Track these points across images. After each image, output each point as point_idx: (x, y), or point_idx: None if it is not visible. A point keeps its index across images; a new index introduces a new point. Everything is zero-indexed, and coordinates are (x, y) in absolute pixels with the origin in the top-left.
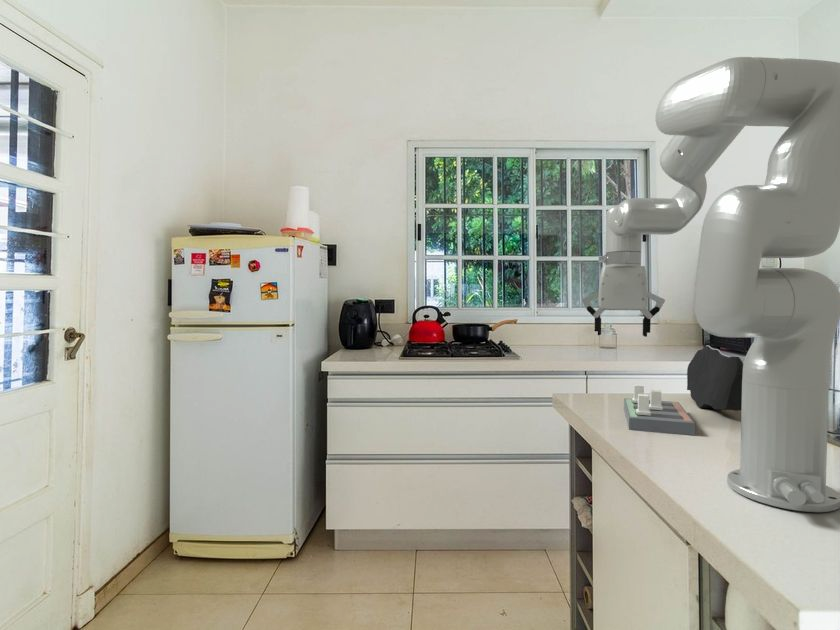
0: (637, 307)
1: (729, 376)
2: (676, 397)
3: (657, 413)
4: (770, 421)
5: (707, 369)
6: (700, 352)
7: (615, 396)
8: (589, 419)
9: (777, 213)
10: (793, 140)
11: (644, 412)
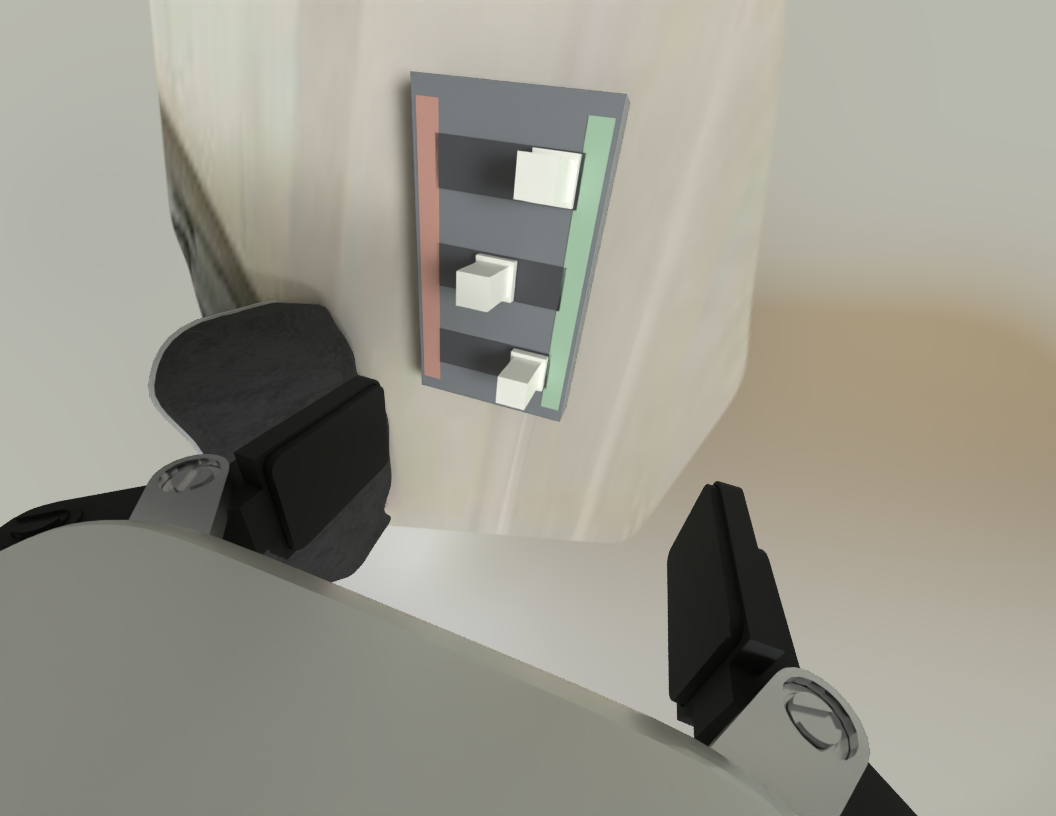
0: (145, 555)
1: (240, 359)
2: (421, 507)
3: (503, 210)
4: None
5: None
6: None
7: (556, 524)
8: (735, 241)
9: None
10: None
11: (553, 150)
